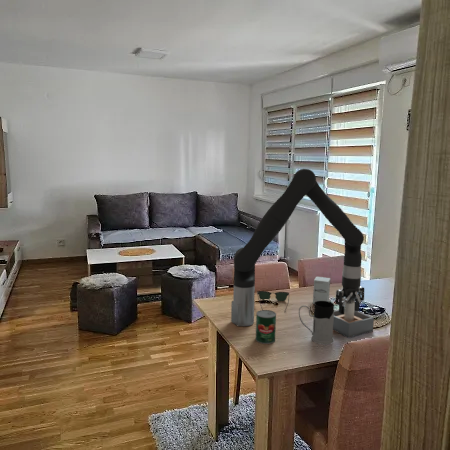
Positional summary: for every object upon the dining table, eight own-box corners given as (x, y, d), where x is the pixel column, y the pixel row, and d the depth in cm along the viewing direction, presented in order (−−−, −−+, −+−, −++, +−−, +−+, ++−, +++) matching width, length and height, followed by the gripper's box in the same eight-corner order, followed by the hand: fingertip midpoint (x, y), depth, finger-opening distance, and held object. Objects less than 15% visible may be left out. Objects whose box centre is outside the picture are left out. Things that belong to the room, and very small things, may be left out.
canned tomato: (261, 345, 157) (262, 318, 155) (252, 337, 164) (252, 311, 162) (279, 341, 160) (279, 315, 158) (269, 334, 167) (269, 308, 166)
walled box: (348, 337, 164) (349, 323, 163) (324, 325, 177) (325, 312, 176) (372, 331, 171) (373, 317, 170) (348, 319, 183) (349, 307, 182)
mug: (334, 345, 158) (336, 308, 155) (297, 342, 160) (299, 306, 158) (332, 335, 166) (334, 300, 164) (297, 333, 168) (298, 298, 166)
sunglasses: (256, 311, 193) (256, 301, 192) (256, 299, 209) (257, 290, 209) (291, 313, 191) (291, 303, 191) (288, 301, 208) (289, 291, 207)
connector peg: (348, 328, 171) (350, 301, 169) (341, 325, 174) (343, 298, 173) (355, 327, 173) (357, 300, 171) (348, 323, 176) (350, 297, 174)
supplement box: (312, 304, 203) (313, 279, 201) (314, 299, 210) (315, 276, 208) (327, 306, 200) (328, 281, 198) (329, 301, 207) (330, 277, 205)
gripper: (345, 279, 163) (343, 318, 166) (370, 275, 170) (367, 312, 173) (332, 275, 170) (330, 311, 173) (357, 271, 177) (354, 306, 179)
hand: (349, 312), depth 173 cm, fingers open, 8 cm apart
